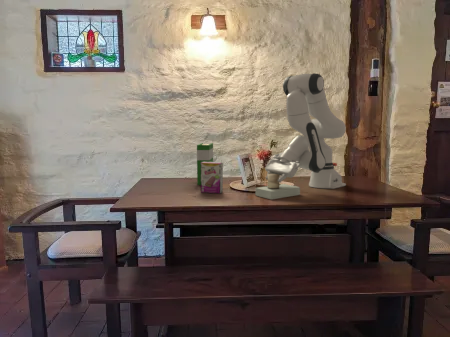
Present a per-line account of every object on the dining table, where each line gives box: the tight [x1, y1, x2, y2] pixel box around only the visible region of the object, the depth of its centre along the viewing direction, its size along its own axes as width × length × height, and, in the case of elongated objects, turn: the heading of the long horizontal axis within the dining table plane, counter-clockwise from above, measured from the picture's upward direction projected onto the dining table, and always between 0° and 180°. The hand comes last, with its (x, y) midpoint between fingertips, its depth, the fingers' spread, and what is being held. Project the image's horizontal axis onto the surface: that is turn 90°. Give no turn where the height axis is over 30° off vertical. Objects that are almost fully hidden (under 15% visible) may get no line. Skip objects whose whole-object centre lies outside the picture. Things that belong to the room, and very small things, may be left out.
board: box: [255, 183, 301, 200], centre depth 197 cm, size 20×12×4 cm, turn 125°
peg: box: [267, 174, 281, 189], centre depth 195 cm, size 6×6×10 cm
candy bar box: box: [200, 161, 224, 194], centre depth 204 cm, size 11×5×16 cm, turn 74°
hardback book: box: [196, 142, 214, 186], centre depth 235 cm, size 18×7×24 cm, turn 174°
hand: (272, 180), depth 195 cm, fingers open, 8 cm apart
